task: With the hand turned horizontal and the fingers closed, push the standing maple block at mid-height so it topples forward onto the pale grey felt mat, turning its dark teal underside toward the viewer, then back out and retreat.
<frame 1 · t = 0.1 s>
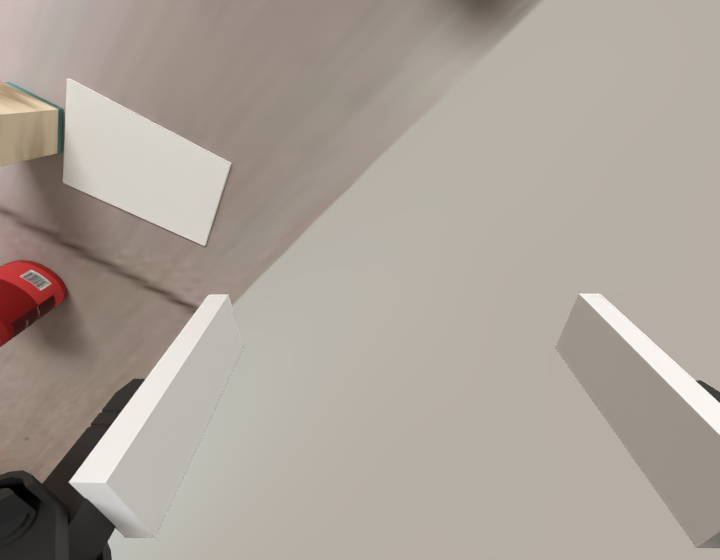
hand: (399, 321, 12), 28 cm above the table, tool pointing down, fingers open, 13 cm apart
canned food: (39, 281, 46), on the table
mat: (147, 172, 37), on the table
block: (36, 119, 34), on the table
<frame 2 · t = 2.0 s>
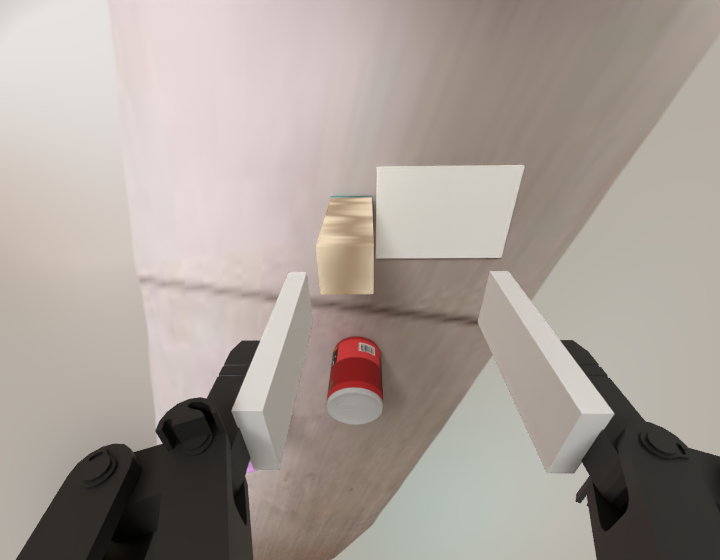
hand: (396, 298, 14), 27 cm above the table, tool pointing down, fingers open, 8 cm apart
canned food: (356, 351, 53), on the table
mat: (443, 214, 40), on the table
block: (352, 215, 40), on the table
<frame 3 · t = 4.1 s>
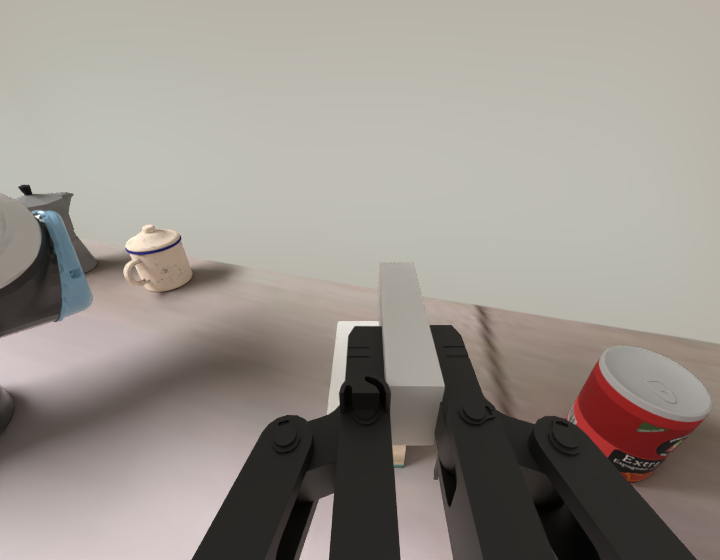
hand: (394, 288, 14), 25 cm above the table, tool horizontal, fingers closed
canned food: (602, 446, 34), on the table
mat: (376, 362, 44), on the table
teacup with lid: (164, 285, 62), on the table
coffeepot: (67, 272, 67), on the table
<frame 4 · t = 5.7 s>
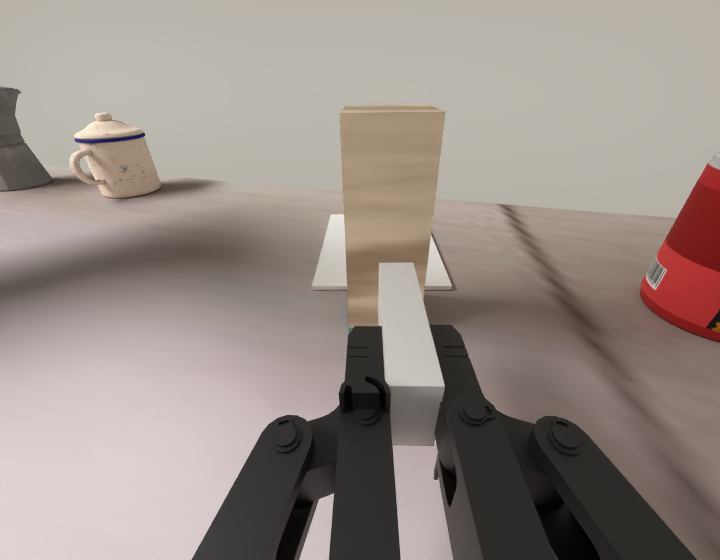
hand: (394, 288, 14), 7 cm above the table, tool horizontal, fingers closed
canned food: (697, 313, 24), on the table
mat: (378, 245, 34), on the table
teacup with lid: (126, 194, 52), on the table
coffeepot: (15, 187, 57), on the table
block: (382, 312, 24), on the table
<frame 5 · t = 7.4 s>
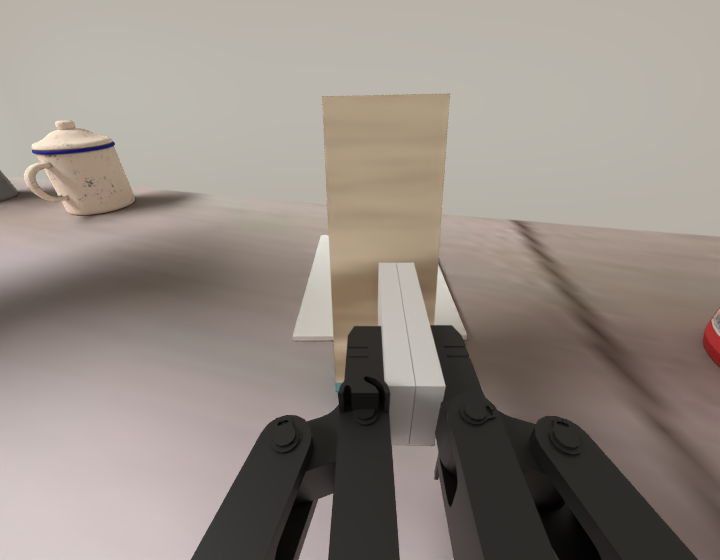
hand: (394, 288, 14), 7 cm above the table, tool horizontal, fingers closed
mat: (375, 276, 29), on the table
teacup with lid: (94, 210, 47), on the table
block: (380, 365, 19), point 1 cm above the table, tilted 13°, touching gripper
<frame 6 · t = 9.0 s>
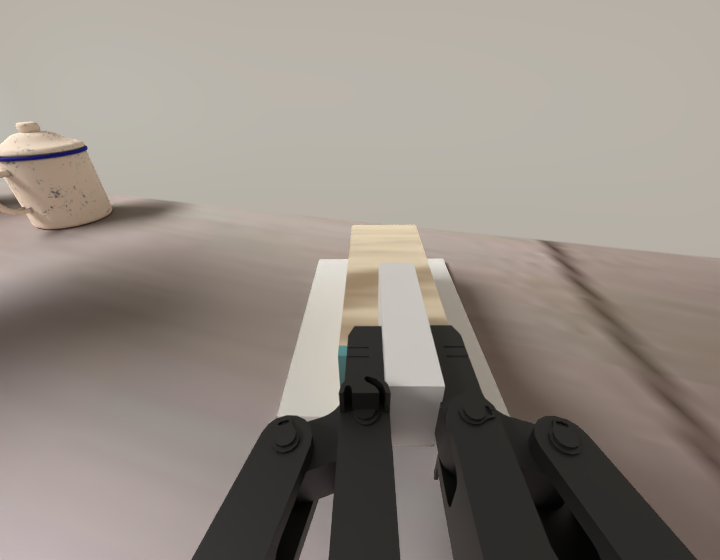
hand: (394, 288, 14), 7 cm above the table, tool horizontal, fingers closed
mat: (384, 317, 24), on the table
teacup with lid: (65, 223, 42), on the table
block: (395, 395, 14), point 3 cm above the table, tilted 90°, touching mat
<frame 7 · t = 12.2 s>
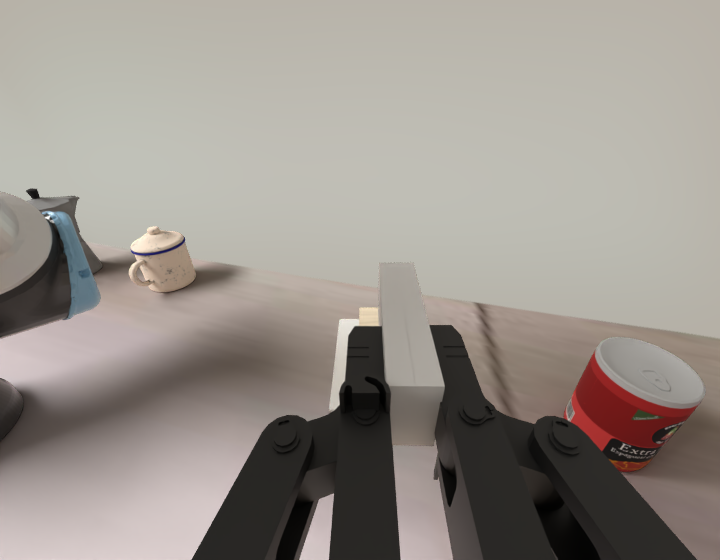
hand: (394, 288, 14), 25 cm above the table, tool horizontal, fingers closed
canned food: (600, 437, 34), on the table
mat: (377, 358, 45), on the table
teacup with lid: (168, 286, 63), on the table
coffeepot: (73, 274, 68), on the table
block: (379, 400, 35), point 3 cm above the table, tilted 90°, touching mat
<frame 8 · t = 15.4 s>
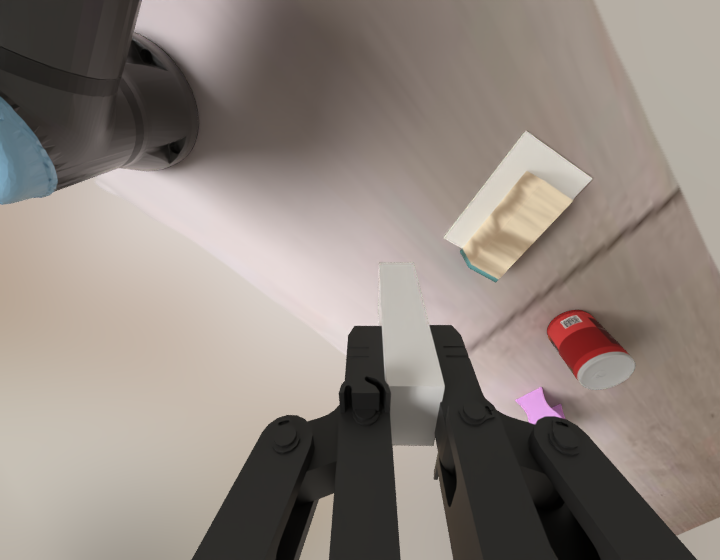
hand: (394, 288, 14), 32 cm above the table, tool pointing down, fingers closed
canned food: (567, 325, 57), on the table
mat: (512, 209, 45), on the table
toy chair: (538, 402, 69), on the table
block: (477, 266, 47), point 3 cm above the table, tilted 90°, touching mat
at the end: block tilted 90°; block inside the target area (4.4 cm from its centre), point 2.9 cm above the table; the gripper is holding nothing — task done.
